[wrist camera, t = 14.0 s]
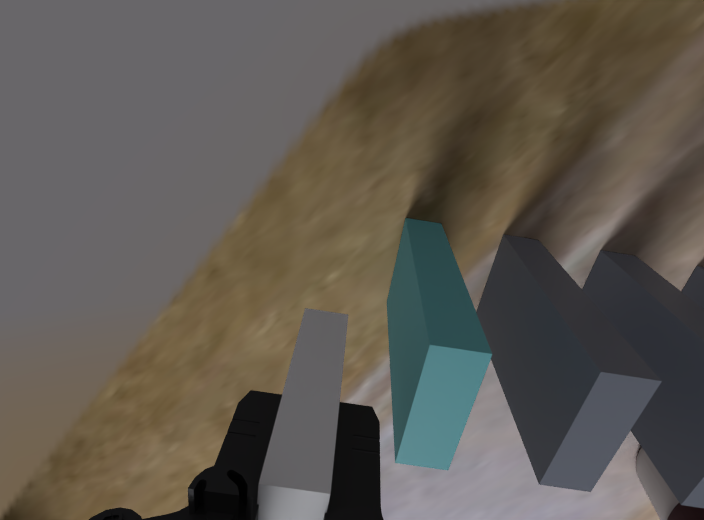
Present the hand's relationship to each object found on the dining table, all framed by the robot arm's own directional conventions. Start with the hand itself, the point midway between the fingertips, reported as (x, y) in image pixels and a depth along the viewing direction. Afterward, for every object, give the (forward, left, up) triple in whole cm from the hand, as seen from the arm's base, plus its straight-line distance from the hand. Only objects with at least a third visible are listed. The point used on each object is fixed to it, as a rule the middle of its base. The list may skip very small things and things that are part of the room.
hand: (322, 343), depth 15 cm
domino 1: (+4, 0, -8) cm, 9 cm away
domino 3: (+14, 0, -8) cm, 16 cm away
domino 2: (+9, 0, -8) cm, 12 cm away
